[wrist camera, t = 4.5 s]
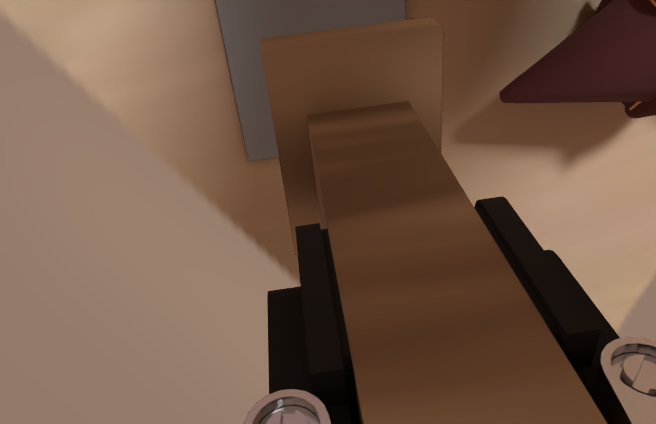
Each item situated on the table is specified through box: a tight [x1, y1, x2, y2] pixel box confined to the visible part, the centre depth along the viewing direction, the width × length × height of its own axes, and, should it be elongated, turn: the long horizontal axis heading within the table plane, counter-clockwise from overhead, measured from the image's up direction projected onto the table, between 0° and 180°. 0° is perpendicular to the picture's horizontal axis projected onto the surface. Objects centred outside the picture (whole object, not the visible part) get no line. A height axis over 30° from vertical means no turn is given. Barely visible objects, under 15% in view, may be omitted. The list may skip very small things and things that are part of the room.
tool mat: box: [216, 0, 405, 161], centre depth 27 cm, size 10×9×1 cm
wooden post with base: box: [261, 16, 607, 424], centre depth 12 cm, size 7×5×12 cm
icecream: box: [500, 0, 656, 118], centre depth 26 cm, size 7×7×15 cm
